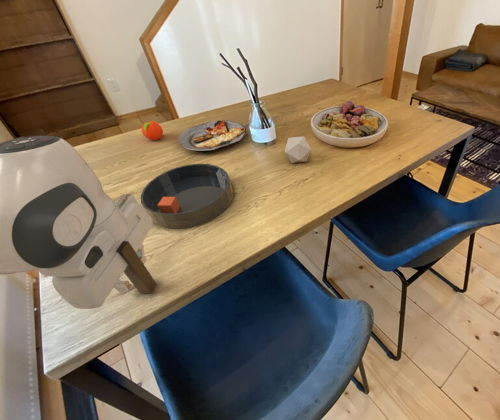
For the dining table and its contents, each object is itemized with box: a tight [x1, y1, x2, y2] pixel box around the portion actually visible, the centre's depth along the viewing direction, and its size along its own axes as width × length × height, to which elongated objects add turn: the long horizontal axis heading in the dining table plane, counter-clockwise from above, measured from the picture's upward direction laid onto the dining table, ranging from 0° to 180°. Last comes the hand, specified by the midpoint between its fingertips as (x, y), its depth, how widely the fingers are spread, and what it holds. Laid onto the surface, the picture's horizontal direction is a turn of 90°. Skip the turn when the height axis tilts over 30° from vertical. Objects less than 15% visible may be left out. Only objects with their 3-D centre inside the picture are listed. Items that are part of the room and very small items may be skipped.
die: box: [284, 135, 312, 164], centre depth 93 cm, size 8×9×10 cm
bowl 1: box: [139, 163, 234, 230], centre depth 79 cm, size 23×23×5 cm
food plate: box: [177, 119, 247, 151], centre depth 106 cm, size 25×23×4 cm
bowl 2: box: [310, 100, 389, 148], centre depth 108 cm, size 30×30×8 cm
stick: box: [116, 241, 157, 294], centre depth 54 cm, size 2×2×14 cm
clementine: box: [141, 120, 164, 141], centre depth 105 cm, size 8×7×7 cm
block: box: [157, 197, 180, 213], centre depth 75 cm, size 4×4×4 cm
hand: (134, 275), depth 55 cm, fingers open, 5 cm apart
